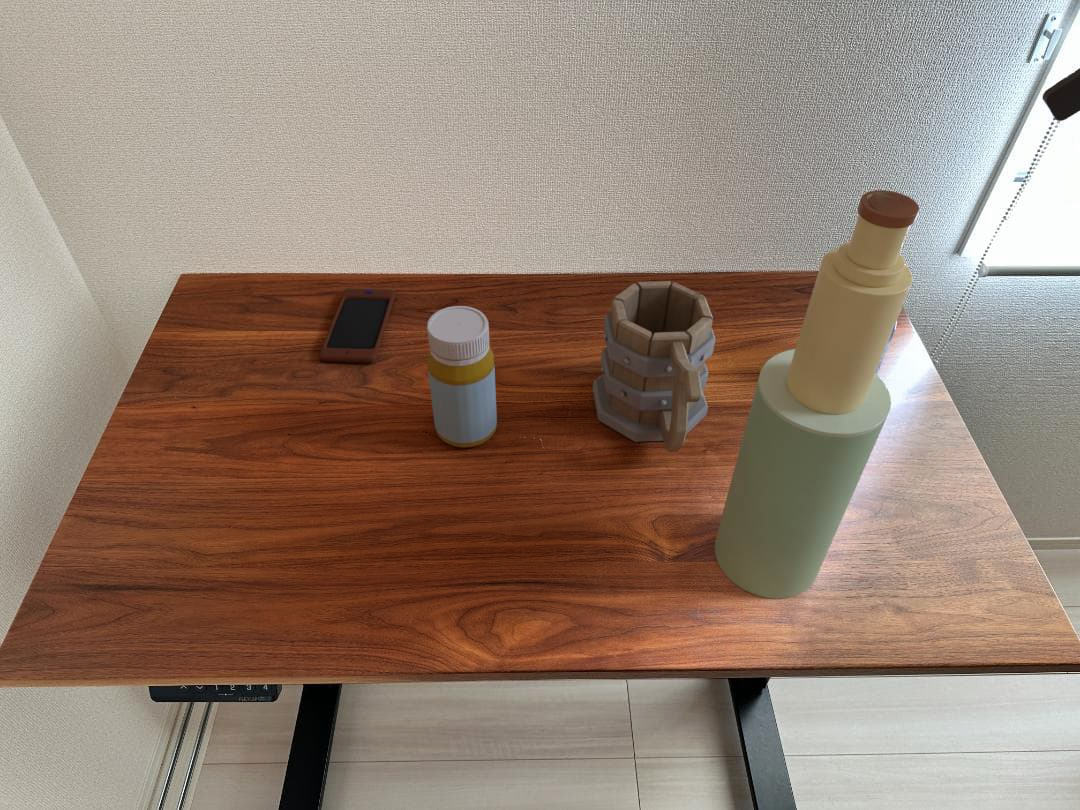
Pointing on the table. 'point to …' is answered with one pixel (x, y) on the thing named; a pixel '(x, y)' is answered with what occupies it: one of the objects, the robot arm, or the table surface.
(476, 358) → the bottle
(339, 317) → the smartphone
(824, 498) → the green stand
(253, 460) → the table surface
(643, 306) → the tankard
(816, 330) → the cream bottle
